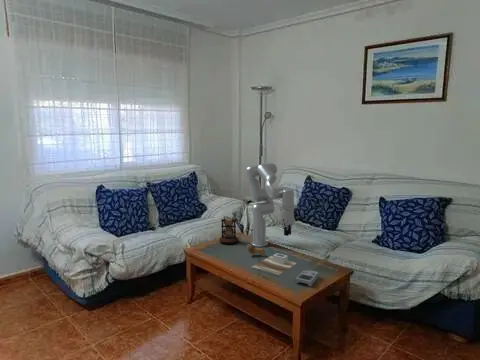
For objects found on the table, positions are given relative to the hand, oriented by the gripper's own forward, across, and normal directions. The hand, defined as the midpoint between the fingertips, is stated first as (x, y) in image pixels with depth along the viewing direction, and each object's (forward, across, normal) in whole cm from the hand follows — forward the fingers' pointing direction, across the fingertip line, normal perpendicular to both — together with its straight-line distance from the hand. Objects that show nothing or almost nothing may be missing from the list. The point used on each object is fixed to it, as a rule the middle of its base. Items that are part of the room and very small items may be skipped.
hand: (287, 234), depth 227 cm
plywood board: (+17, +16, 0) cm, 23 cm away
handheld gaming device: (+18, +21, +25) cm, 37 cm away
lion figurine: (+17, +10, -18) cm, 27 cm away
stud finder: (+16, +9, 0) cm, 18 cm away
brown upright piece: (+17, -4, -54) cm, 57 cm away
